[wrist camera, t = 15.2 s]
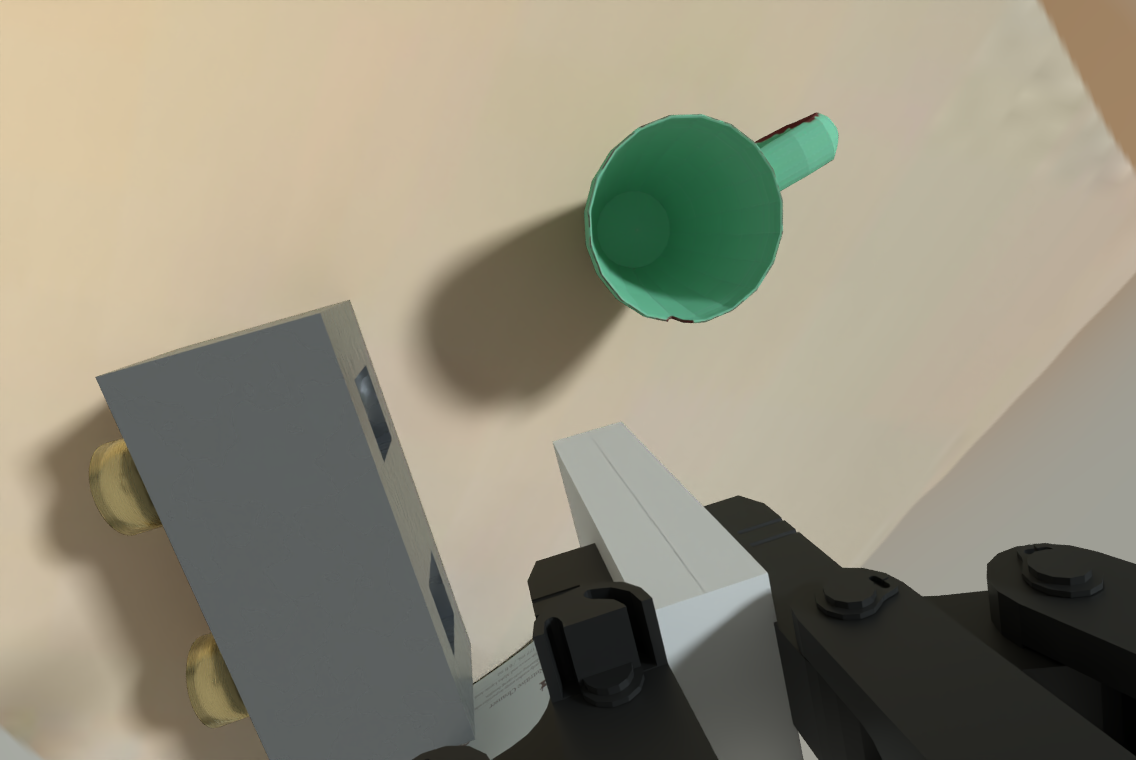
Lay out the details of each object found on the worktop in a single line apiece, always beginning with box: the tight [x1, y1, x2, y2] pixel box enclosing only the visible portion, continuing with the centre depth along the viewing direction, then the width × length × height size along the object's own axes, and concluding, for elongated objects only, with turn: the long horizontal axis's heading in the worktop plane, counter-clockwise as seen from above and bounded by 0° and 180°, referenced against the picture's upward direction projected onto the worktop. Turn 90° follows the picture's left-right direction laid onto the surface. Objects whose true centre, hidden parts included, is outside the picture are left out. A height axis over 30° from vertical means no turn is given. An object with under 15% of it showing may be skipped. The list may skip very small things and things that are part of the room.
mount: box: [96, 300, 475, 760], centre depth 37 cm, size 24×10×9 cm, turn 16°
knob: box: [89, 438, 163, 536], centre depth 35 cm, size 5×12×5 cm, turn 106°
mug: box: [584, 113, 838, 323], centre depth 36 cm, size 15×10×10 cm
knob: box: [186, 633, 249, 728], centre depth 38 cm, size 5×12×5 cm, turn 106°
